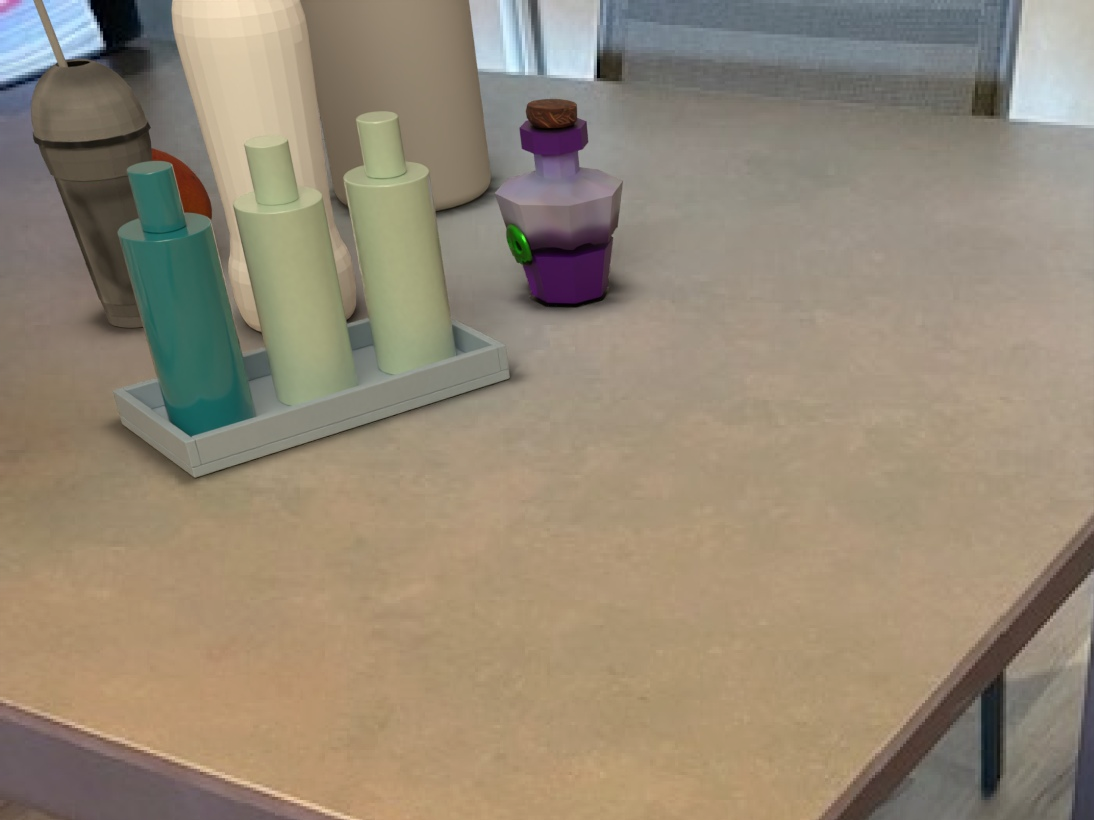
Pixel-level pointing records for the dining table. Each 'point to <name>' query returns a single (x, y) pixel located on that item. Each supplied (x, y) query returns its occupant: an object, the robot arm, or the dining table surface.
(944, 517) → the dining table surface
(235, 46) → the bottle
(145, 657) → the dining table surface
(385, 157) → the bottle
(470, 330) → the tray
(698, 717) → the dining table surface
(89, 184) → the beverage cup
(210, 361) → the loose bottle
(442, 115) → the cylinder vase
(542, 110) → the potion bottle
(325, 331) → the bottle
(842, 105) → the dining table surface
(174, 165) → the fruit
